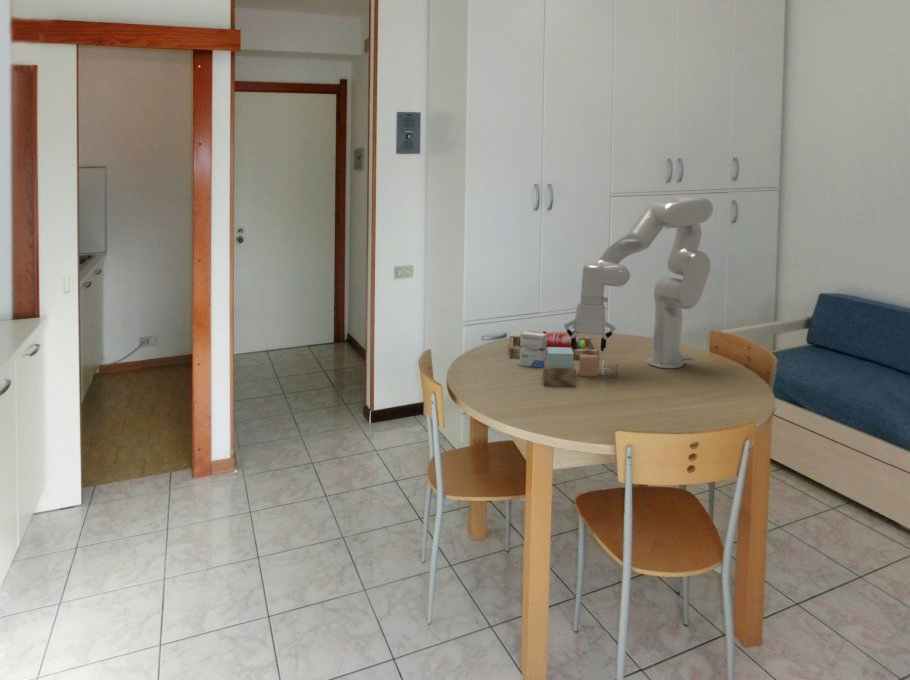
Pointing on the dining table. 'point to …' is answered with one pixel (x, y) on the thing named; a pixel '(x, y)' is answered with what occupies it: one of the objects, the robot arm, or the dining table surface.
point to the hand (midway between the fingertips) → (587, 349)
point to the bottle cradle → (516, 351)
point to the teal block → (560, 357)
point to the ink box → (533, 349)
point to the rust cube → (588, 365)
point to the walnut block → (559, 376)
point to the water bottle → (561, 341)
